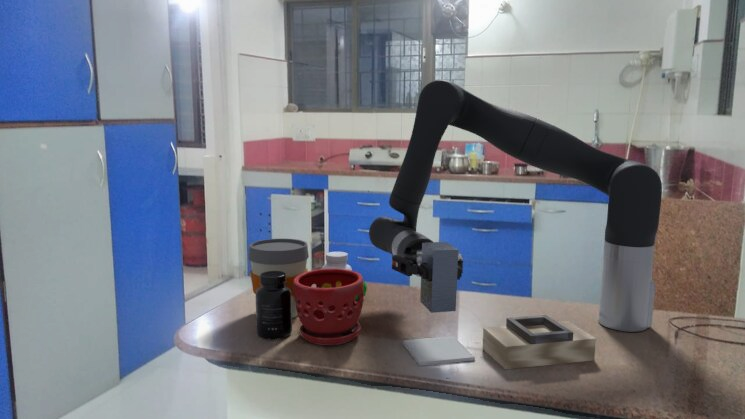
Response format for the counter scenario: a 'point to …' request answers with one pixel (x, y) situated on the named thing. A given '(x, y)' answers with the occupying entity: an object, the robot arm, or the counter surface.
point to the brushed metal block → (440, 277)
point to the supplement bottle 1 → (273, 306)
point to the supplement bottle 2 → (336, 264)
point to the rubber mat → (438, 350)
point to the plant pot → (329, 305)
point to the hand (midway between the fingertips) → (444, 274)
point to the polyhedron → (364, 290)
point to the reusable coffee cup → (278, 261)
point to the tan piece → (537, 342)
